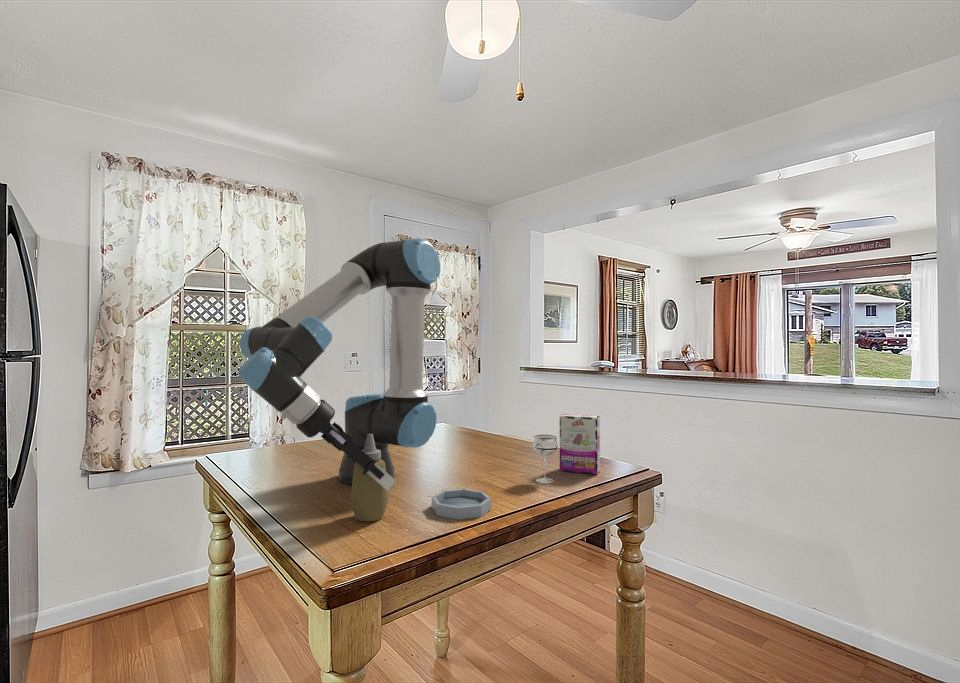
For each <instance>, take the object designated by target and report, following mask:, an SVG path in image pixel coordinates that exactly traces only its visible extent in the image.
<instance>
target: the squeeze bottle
mask: <svg viewBox="0 0 960 683" xmlns="http://www.w3.org/2000/svg"><path fill="white" fill-rule="evenodd" d="M362 451H364V452H365V453H366V454H367V455H368V456H369V457H370V458H371V459H373V460H375V462H376V463H377V464H378V465H379V466H380V467H381V468H383V469H384V470H385V471H386V467H385V462H384V461H383V460H381V459H380V458H381V451H380V450H378V449H376V447H375V442H374V437H373V434H367V438H366V442H365V447H364V450H362ZM363 472H364V469H363V468H362V467H361V466H360V465H359V464H358V463H355V464H354V472H353V481H352V485H351V493H350V501H349V502H350V506H351V509H352V510H353V511H352V512H353V514H354V517H355V519H356V520H358V521H360V522H367V523H368V522H375V521H378V520H381V519H382V518H383V517H384V515H385V512H386V509H387V506H388V504H389V503H388V502H389V490H388V491H387V490H386V489H385V488H383V487H382V486H381V485H380V484H379V483H378V482H377V481H376V480H374V479H373V478H372V477H371V476H370V475H369V474H368V473H366V474H365V475H364V474H363Z"/></svg>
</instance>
